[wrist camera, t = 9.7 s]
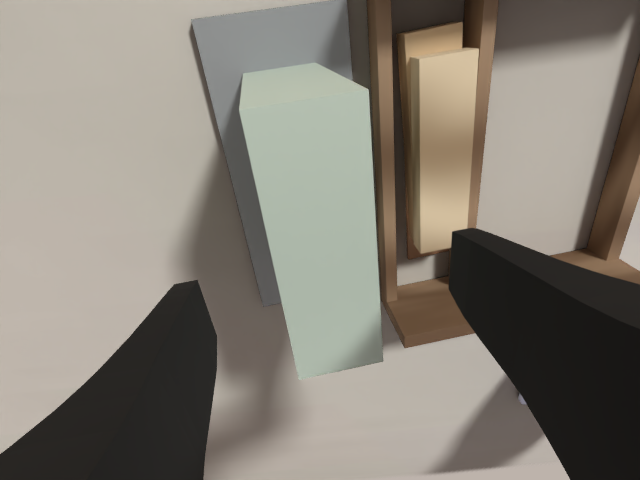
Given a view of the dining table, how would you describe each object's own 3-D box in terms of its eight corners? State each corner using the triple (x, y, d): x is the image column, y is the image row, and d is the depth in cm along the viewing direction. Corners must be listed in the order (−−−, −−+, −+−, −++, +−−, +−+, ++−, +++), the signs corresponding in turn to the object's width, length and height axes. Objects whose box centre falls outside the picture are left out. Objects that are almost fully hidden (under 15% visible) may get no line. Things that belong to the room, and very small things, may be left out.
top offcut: (457, 235, 20) (466, 244, 19) (413, 243, 20) (420, 254, 19) (466, 47, 16) (479, 48, 15) (410, 57, 15) (419, 58, 15)
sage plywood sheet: (337, 247, 20) (383, 361, 13) (281, 258, 20) (299, 380, 13) (315, 62, 16) (369, 89, 9) (242, 73, 15) (238, 110, 9)
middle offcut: (451, 226, 21) (460, 235, 20) (410, 236, 21) (416, 245, 20) (451, 22, 16) (462, 22, 15) (396, 33, 16) (404, 34, 15)
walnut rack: (595, 256, 24) (653, 294, 21) (381, 300, 23) (404, 348, 20) (698, -95, 16) (827, -130, 12) (363, -54, 14) (400, -80, 11)
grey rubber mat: (365, 281, 22) (367, 285, 22) (263, 302, 22) (263, 306, 21) (344, -1, 15) (346, -2, 15) (192, 19, 15) (191, 19, 14)
